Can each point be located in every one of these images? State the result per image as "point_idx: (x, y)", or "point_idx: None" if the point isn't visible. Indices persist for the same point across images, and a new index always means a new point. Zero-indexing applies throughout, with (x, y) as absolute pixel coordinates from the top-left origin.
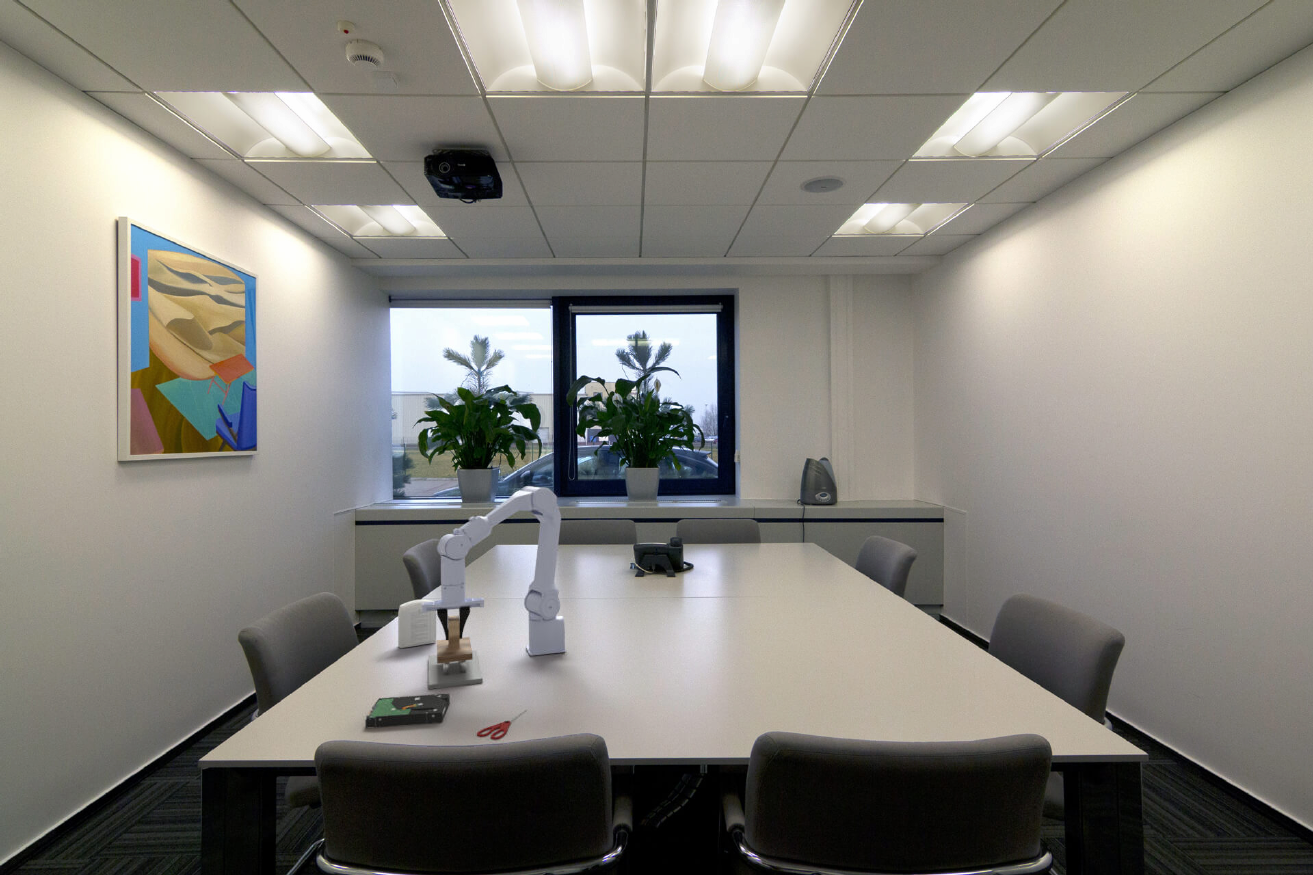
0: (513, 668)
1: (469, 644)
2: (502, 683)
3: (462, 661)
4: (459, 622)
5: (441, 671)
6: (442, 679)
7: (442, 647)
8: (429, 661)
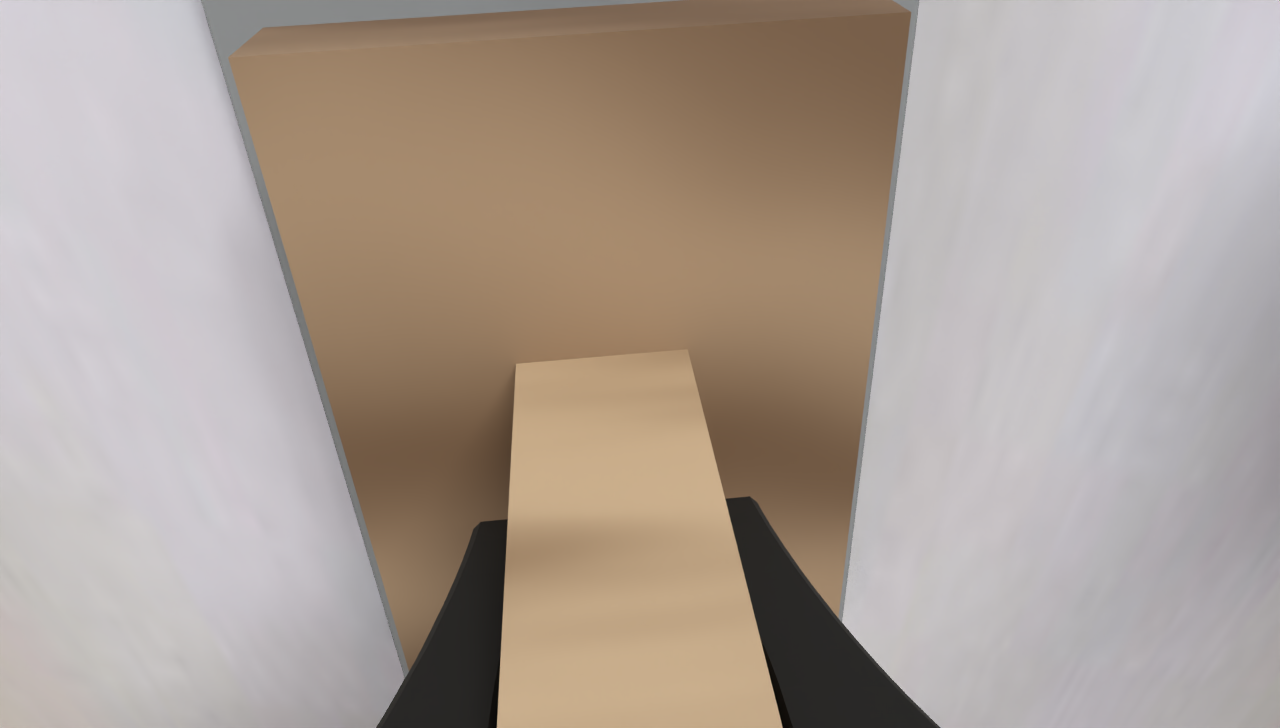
0: (1169, 372)
1: (840, 442)
2: (964, 641)
3: None
4: (777, 695)
5: None
6: None
7: (440, 488)
8: (217, 18)
